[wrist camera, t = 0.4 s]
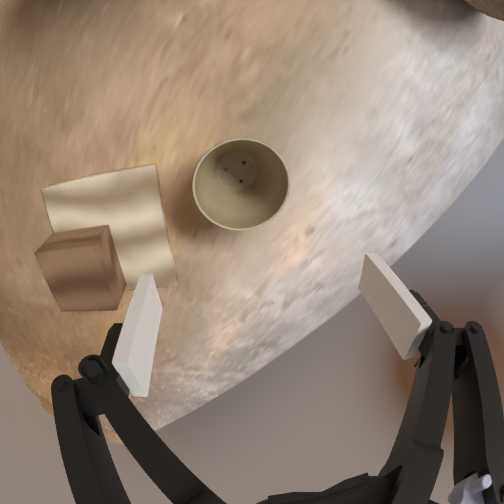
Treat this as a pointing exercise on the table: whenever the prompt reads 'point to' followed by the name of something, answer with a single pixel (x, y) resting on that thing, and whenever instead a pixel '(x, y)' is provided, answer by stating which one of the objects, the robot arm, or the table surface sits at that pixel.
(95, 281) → the pedestal
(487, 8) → the bowl
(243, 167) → the flower pot
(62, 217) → the board
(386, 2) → the table surface
